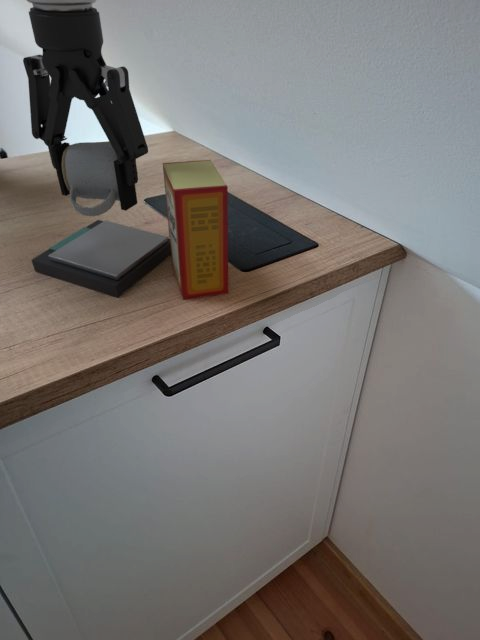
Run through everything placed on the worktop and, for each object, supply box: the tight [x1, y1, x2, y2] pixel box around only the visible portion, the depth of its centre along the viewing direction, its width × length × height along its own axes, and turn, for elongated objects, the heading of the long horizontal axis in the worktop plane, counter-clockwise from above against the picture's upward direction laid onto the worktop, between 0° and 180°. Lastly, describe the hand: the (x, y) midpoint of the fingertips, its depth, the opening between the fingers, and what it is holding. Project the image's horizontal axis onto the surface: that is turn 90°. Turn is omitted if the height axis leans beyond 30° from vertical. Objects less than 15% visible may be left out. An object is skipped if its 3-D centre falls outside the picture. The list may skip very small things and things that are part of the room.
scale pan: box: [48, 220, 169, 280], centre depth 74 cm, size 12×13×1 cm
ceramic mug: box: [62, 141, 126, 217], centre depth 66 cm, size 11×8×8 cm
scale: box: [31, 219, 171, 298], centre depth 75 cm, size 15×15×2 cm
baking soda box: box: [162, 159, 229, 300], centre depth 67 cm, size 10×6×16 cm
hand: (99, 199), depth 69 cm, fingers closed on ceramic mug, 9 cm apart
